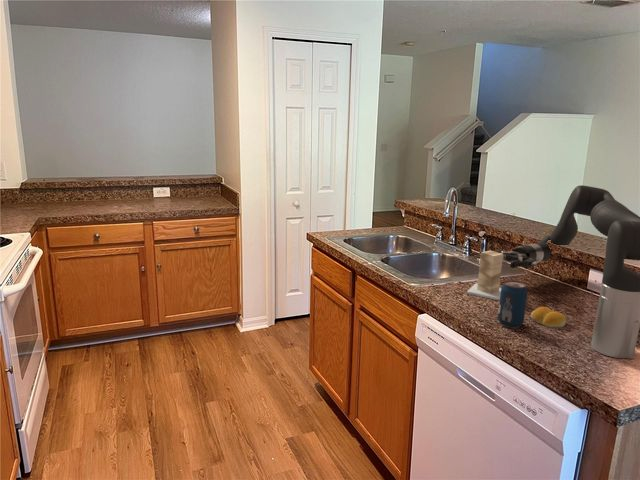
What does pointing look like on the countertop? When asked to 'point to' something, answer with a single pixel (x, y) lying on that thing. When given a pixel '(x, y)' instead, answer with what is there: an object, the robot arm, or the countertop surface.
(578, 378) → the countertop surface
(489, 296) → the ceramic tile
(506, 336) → the countertop surface
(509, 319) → the soda can
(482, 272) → the maple block
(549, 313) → the bread roll
